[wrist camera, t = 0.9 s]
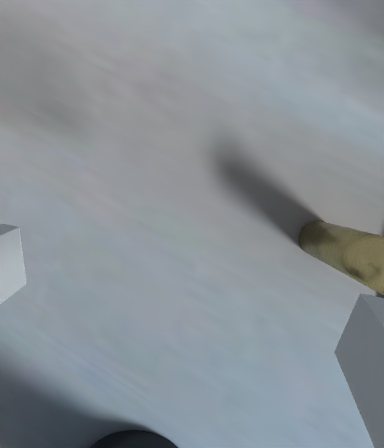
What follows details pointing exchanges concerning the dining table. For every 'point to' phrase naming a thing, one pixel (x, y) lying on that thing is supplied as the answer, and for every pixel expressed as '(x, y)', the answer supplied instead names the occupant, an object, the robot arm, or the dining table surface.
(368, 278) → the toggle switch lever
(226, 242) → the dining table surface
